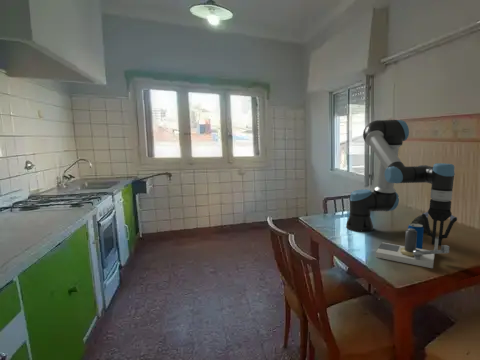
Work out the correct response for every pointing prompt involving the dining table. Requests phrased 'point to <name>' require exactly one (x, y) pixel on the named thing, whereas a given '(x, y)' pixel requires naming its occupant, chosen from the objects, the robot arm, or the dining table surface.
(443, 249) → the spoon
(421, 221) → the rock
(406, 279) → the dining table surface
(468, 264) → the dining table surface
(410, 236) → the grey post on base
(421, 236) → the beverage can
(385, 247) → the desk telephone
